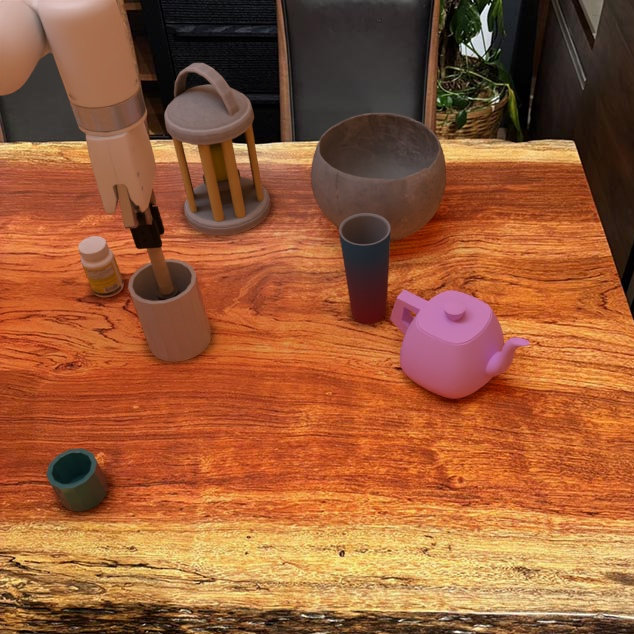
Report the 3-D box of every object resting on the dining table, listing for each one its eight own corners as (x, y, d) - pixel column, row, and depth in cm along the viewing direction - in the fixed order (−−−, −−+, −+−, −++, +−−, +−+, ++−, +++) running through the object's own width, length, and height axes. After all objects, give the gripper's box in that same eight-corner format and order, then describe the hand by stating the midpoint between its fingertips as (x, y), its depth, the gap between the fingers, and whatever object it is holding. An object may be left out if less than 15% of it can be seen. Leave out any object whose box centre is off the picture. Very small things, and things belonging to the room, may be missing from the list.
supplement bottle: (101, 275, 123) (84, 232, 117) (129, 279, 123) (114, 235, 116) (87, 296, 120) (69, 253, 114) (116, 300, 120) (100, 256, 113)
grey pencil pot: (144, 364, 111) (123, 305, 102) (152, 319, 116) (133, 261, 108) (208, 359, 111) (192, 301, 103) (213, 315, 117) (198, 256, 108)
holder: (56, 513, 95) (42, 489, 91) (65, 474, 99) (52, 450, 95) (104, 510, 95) (91, 486, 91) (111, 471, 99) (99, 446, 95)
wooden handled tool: (163, 325, 109) (125, 212, 95) (165, 310, 111) (129, 197, 97) (185, 324, 109) (151, 210, 95) (187, 309, 111) (154, 195, 97)
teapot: (495, 433, 101) (503, 374, 92) (366, 367, 109) (362, 308, 101) (545, 367, 108) (556, 307, 99) (420, 310, 116) (421, 250, 108)
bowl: (403, 282, 120) (402, 199, 109) (292, 240, 128) (280, 158, 116) (466, 210, 131) (471, 127, 120) (361, 175, 139) (356, 94, 128)
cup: (396, 324, 114) (395, 241, 103) (349, 331, 114) (342, 248, 102) (388, 293, 119) (385, 209, 107) (342, 299, 118) (335, 216, 107)
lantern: (287, 198, 135) (268, 55, 116) (235, 245, 127) (206, 100, 109) (221, 175, 140) (192, 34, 122) (167, 219, 132) (128, 76, 114)
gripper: (87, 72, 92) (130, 204, 106) (59, 148, 81) (111, 284, 95) (152, 68, 92) (187, 200, 106) (133, 143, 82) (174, 280, 95)
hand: (150, 239), depth 100 cm, fingers closed on wooden handled tool
